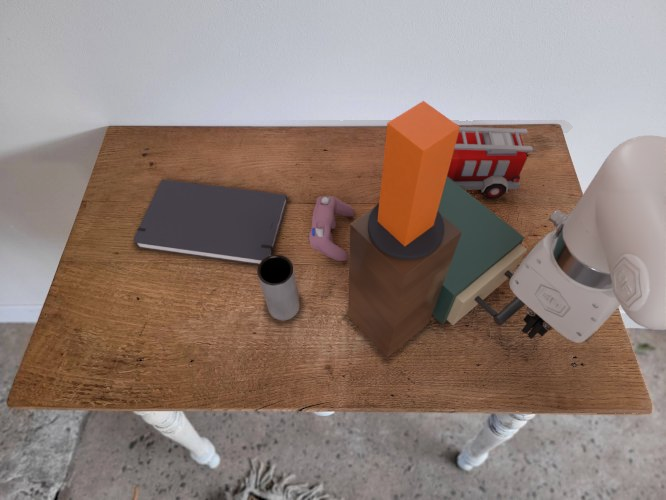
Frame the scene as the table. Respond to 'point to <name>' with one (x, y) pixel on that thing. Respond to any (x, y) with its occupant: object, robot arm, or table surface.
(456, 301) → the drawer
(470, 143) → the toy fire truck
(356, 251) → the stand
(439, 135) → the block
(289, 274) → the planter
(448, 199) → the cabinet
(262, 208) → the notebook
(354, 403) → the table surface
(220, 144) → the table surface
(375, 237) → the coaster
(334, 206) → the video game controller
